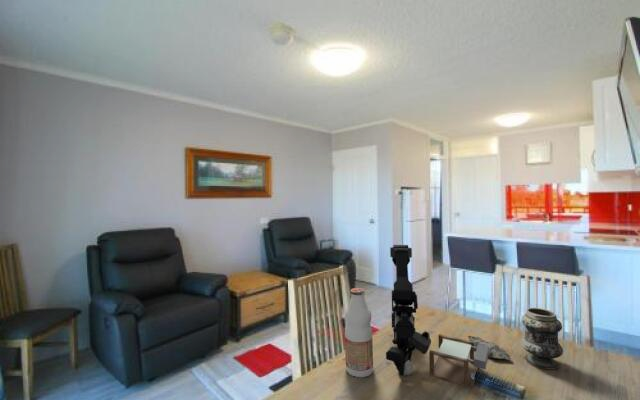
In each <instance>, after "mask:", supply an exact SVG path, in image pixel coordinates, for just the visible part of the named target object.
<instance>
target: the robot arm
mask: <svg viewBox="0 0 640 400" xmlns="http://www.w3.org/2000/svg"><path fill="white" fill-rule="evenodd" d="M392 245H393V246H392V247H389V248H390V249H389V250H390V251H389V254H390V258H391V261H392V263H393V264H394V266H395V272H396V273H395V274H396V280H395V281H394V282H393V289H391V328H392V330H393V339H392V343H393V344H394V345H396V346H393V345H392V346H390V348H388V349H387V350H386V352H385V359H386V360H387V361H391V362H393V365H394V366H395V368H396V369H397V372H398V374H399V375H400V376H401V377H402V376H405V375H404V369H405V363H406V362H407V361H408V360H409V361H410V362H412V356H413V353H414V352H413V351H415V350H417V351H419V352H420V353H421V354H423V355H426V354H427V353H428V351H429V349H430V346H431V344H432V339H431V336H430V333H429V332H427V331H424V332H422V333H421V332H418V331H416V327H415V326H416V325H415V319H416V317H415V316H414V314H417V310H419V309H418V307H419V305H418V304H419V302H418V294H417V293H416V291H414V288H413V283H412V282H411V281H410V279H409V266H408V265H409V264H410V261H411V258H412V257H413V251H412V250H413V248H412V247H409V244H392ZM413 313H414V314H413Z"/></svg>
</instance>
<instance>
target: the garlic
mask: <svg viewBox="0 0 640 400" xmlns="http://www.w3.org/2000/svg"><path fill="white" fill-rule="evenodd" d="M413 366H414V365H413V363H412V361H409V360H408V361H407V362H406V363H405V369H404V375H403V376H409V375H411V373H412V372H413V370H414V367H413Z"/></svg>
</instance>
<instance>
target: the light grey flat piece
mask: <svg viewBox="0 0 640 400" xmlns="http://www.w3.org/2000/svg"><path fill="white" fill-rule="evenodd" d="M471 349H474V350H475V349H476V350H475V352H474V360H472V359H470V358H469V357H470V350H471ZM437 352H440V353H444V354H448V355H452V356H456V357H460V358H465V359H468V362H471V363H474V367H478V369H482V370H486V368H487V364H488V360H489V357H488V355H489V347H488V346H484V345H479V344H478V346H477V347H475V346H471V345H470V344H466V343H462V342H457V341H453V340H448V339H443V342H442V344H441V346H440V348H439V347H438V350H437Z"/></svg>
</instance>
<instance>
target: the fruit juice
mask: <svg viewBox="0 0 640 400" xmlns="http://www.w3.org/2000/svg"><path fill="white" fill-rule="evenodd" d="M365 291H366V290H365V289H364V288H361V287H354V288H351V289H350V296H351V297H350V300H349V305H348V307H347V308H346V309H345V312H344V319H345V322H346V325H345V328H344V344H345V345H344V349H345V350H344V352H345V370H346V372H347V374H349V376H352V377H354V376H355V378H365V377H369V376H370V375H372V373H373V371H374V352H373V350H374V349H373V346H374V345H373V342H374V341H373V328H372V325H371V322H372V311H371V310H370V308H369V306H368V303H367V301H366V298H365V294H366V292H365Z"/></svg>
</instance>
